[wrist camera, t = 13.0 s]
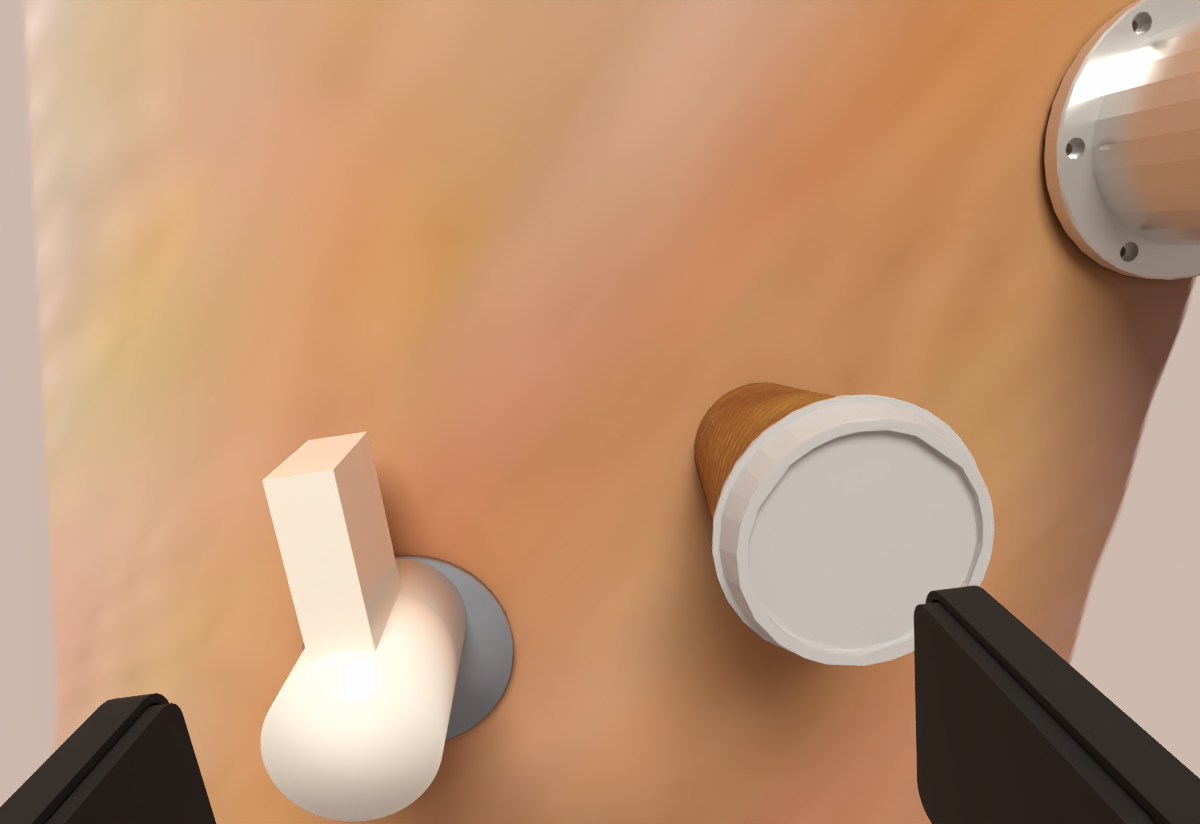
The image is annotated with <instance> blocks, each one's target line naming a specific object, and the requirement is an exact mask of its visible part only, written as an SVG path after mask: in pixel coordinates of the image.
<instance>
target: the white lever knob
mask: <svg viewBox="0 0 1200 824" xmlns="http://www.w3.org/2000/svg"><path fill="white" fill-rule="evenodd" d="M262 481H263V485H264V489H265V493H266V497H267V501H268V505H269V509H270V513H271V516H272V520H273V524H274V528H275V532H276V536H277V540H278V544H279V548H280V552H281V555H282V559H283V563H284V567H285V571H286V575H287V579H288V583H289V587H290V591H291V594H292V598H293V602H294V606H295V610H296V614H297V618H298V622H299V626H300V629H301V633H302V637H303V641H304V645H305V649H304V650H303V652H302V654H301V655H300V657H299V659H298V661H297V662H296V664H295V666H294V668H293V669H292V671H291V673H290V675H289V676H288V678H287V680H286V682H285V683H284V685H283V687H282V689H281V690H280V692H279V694H278V696H277V697H276V699H275V701H274V702H273V704H272V706H271V708H270V709H269V711H268V714H267V716H266V718H265V720H264V724H263V728H262V733H261V753H262V758H263V762H264V765H265V768H266V770H267V772H268V774H269V776H270V778H271V780H272V781H273V783H274V784H275V785H276V787H277V788H278V789H279V790H280V791H281V792H282V793H283V794H284V795H285V797H287V798H288V799H289V800H290V801H292V802H293V803H294V804H296V805H297V806H299V807H301V808H302V809H304V810H306V811H308V812H310V813H313V814H315V815H318V816H321V817H324V818H328V819H333V820H338V821H348V822H350V821H368V820H374V819H378V818H382V817H385V816H388V815H391V814H394V813H396V812H398V811H400V810H402V809H404V808H405V807H407V806H408V805H410V804H411V803H413V802H414V801H415V800H416V799H418V798H419V797H420V796H421V795H422V794H423V793H424V792H425V791H426V789H427V788H428V787H429V786H430V784H431V783H432V781H433V780H434V778H435V776H436V774H437V772H438V770H439V767H440V763H441V760H442V755H443V749H444V744H445V739H446V733H447V728H448V723H449V717H450V712H451V707H452V701H453V696H454V691H455V685H456V680H457V675H458V669H459V664H460V659H461V653H462V648H463V642H464V637H465V632H466V626H467V616H466V609H465V605H464V602H463V599H462V597H461V595H460V593H459V591H458V590H457V588H456V587H455V585H454V584H453V583H452V582H451V581H450V580H449V579H448V578H447V577H446V576H445V575H444V574H442V573H441V572H440V571H438V570H437V569H435V568H433V567H431V566H429V565H427V564H424V563H422V562H419V561H415V560H410V559H398V558H395V556H394V551H393V546H392V542H391V537H390V533H389V528H388V523H387V519H386V514H385V510H384V505H383V500H382V496H381V491H380V487H379V482H378V477H377V473H376V468H375V464H374V459H373V454H372V450H371V445H370V441H369V436H368V431H367V432H360V433H354V434H347V435H340V436H334V437H327V438H320V439H314V440H308V441H307V442H306V443H305V444H304V445H303V446H301V447H300V448H299V449H298V450H297V451H296V452H294V453H293V454H292V455H291V456H290V457H289V458H288V459H286V460H285V461H284V462H283V463H282V464H281V465H279V466H278V467H277V468H276V469H275V470H274V471H273V472H271V473H270V474H269V475H268V476H267V477H266V478H264V479H263V480H262Z"/></svg>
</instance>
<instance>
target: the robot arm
mask: <svg viewBox="0 0 1200 824" xmlns="http://www.w3.org/2000/svg"><path fill="white" fill-rule="evenodd" d="M1044 163H1045V173H1046V182H1047V188H1048V192H1049V195H1050V198H1051V202H1052V205H1053V208H1054V212H1055V213H1056V215H1057V217H1058V219H1059V221H1060V223H1061V224H1062V226H1063V228H1064V230H1065V232H1066V234H1067V235H1068V236H1069V237H1070V238H1071V239H1072V241H1073V242H1074V243H1075V244H1076V245H1077V246H1078V247H1079V249H1080V250H1081V251H1082V252H1083V253H1085V254H1086V255H1087V256H1089V257H1090V258H1092V259H1093V260H1094V261H1096V262H1097V263H1098V264H1100V265H1101V266H1104V267H1106V268H1108V269H1111V270H1113V271H1115V272H1118V273H1120V274H1123V275H1128V276H1134V277H1139V278H1144V279H1167V280H1172V279H1180V278H1188V277H1196V276H1199V275H1200V0H1138V1H1136V2H1134V3H1132V4H1130V5H1129V6H1127V7H1125V8H1123V9H1122V10H1121V11H1120V12H1118V13H1117V14H1116V15H1115V16H1113V17H1112V18H1111V19H1110V20H1109V21H1107V22H1106V23H1105V24H1104V25H1102V26H1101V27H1100V28H1099V29H1098V30H1097V32H1096V33H1095V34H1094V35H1093V36H1092V37H1091V38H1090V40H1089V41H1088V42H1087V43H1086V44H1085V45H1084V46H1083V48H1082V49H1081V50H1080V52H1079V53H1078V55H1077V56H1076V58H1075V60H1074V61H1073V63H1072V64H1071V66H1070V68H1069V69H1068V71H1067V72H1066V74H1065V76H1064V78H1063V80H1062V83H1061V85H1060V88H1059V90H1058V92H1057V95H1056V97H1055V99H1054V102H1053V105H1052V109H1051V113H1050V117H1049V122H1048V126H1047V130H1046V140H1045V154H1044ZM914 655H915V701H916V746H917V783H918V790H919V795H920V798H921V802H922V805H923V807H924V810H925V812H926V814H927V816H928V818H929V819H930V821H931V823H932V824H1200V779H1199V778H1198V777H1197V776H1196V775H1195V774H1194V773H1193V772H1191V771H1190V770H1189V769H1188V768H1187V767H1186V766H1185V765H1183V764H1182V763H1181V762H1180V761H1179V760H1178V759H1177V758H1175V757H1174V756H1173V755H1172V754H1171V753H1170V752H1168V751H1167V750H1166V749H1165V748H1164V747H1163V746H1162V745H1161V744H1159V743H1158V742H1157V741H1156V740H1155V739H1154V738H1153V737H1151V736H1150V735H1149V734H1148V733H1147V732H1146V731H1145V730H1143V729H1142V728H1141V727H1140V726H1139V725H1138V724H1137V723H1135V722H1134V721H1133V720H1132V719H1131V718H1130V717H1128V715H1126V714H1125V713H1124V712H1123V711H1122V710H1121V709H1120V708H1118V707H1117V706H1116V705H1115V704H1114V703H1113V702H1112V701H1110V700H1109V699H1108V698H1107V697H1106V696H1104V695H1103V694H1102V693H1101V692H1100V691H1099V690H1098V689H1097V688H1095V687H1094V686H1093V685H1092V684H1091V683H1090V682H1089V681H1087V680H1086V679H1085V678H1084V677H1083V676H1082V675H1081V674H1080V673H1078V672H1077V671H1076V670H1075V669H1074V668H1073V667H1072V666H1070V665H1069V664H1068V663H1067V662H1066V661H1065V660H1064V659H1062V658H1061V657H1060V656H1059V655H1058V654H1057V653H1056V652H1055V651H1053V650H1052V649H1051V648H1050V647H1049V646H1048V645H1047V644H1045V643H1044V642H1043V641H1042V640H1041V639H1040V638H1039V637H1037V636H1036V635H1035V634H1034V633H1033V632H1032V631H1031V630H1029V629H1028V628H1027V627H1026V626H1025V625H1024V624H1023V623H1021V622H1020V621H1019V620H1018V619H1017V618H1016V617H1015V616H1013V615H1012V614H1011V613H1010V612H1009V611H1008V610H1007V609H1005V608H1004V607H1003V606H1002V605H1001V604H1000V603H999V602H997V601H996V600H995V599H994V598H993V597H992V596H991V595H990V594H988V593H987V592H986V591H985V590H984V589H982V588H981V587H979V586H974V585H972V586H965V587H957V588H950V589H942V590H934V591H931V592H929V593H928V595H927V598H926V604H918V605H917V606H916V607H915V610H914ZM0 824H216V822H215V818H214V815H213V812H212V808H211V805H210V802H209V799H208V795H207V792H206V789H205V785H204V782H203V779H202V776H201V772H200V769H199V766H198V763H197V759H196V756H195V753H194V749H193V746H192V743H191V740H190V736H189V733H188V730H187V726H186V723H185V720H184V717H183V714H182V711H181V709H180V708H179V707H178V706H177V705H176V704H173V703H170V704H169V702H168V700H167V699H166V698H165V697H164V696H163V695H160V694H157V693H155V694H147V695H140V696H132V697H125V698H117V699H112V700H108V701H106V702H105V703H103V704H102V705H101V706H100V707H99V708H98V709H97V710H96V711H95V712H94V713H93V714H92V715H91V716H90V717H89V718H88V719H87V720H86V721H85V722H84V723H83V724H82V725H81V726H80V727H79V728H78V729H77V730H76V731H75V732H74V733H73V734H72V735H71V736H70V737H69V738H68V739H67V740H66V741H65V742H64V743H63V744H62V745H61V746H60V747H59V748H58V749H57V750H56V751H55V752H54V753H53V754H52V755H51V756H50V758H48V759H47V760H46V761H45V763H43V765H41V767H39V769H38V770H37V771H36V772H35V773H34V774H33V775H32V776H31V777H30V778H29V779H28V780H27V781H26V782H25V783H24V784H23V785H22V786H21V787H20V788H19V789H18V790H17V791H16V792H15V793H14V794H13V795H12V796H11V797H10V798H9V799H8V800H7V801H6V802H5V803H4V804H3V805H2V806H1V807H0Z"/></svg>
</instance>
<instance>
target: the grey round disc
mask: <svg viewBox="0 0 1200 824" xmlns="http://www.w3.org/2000/svg"><path fill="white" fill-rule="evenodd" d="M395 558H398V559H410V560H415V561H419V562H422V563H424V564H427V565H429V566H431V567H433V568H435V569H437V570H438V571H440V572H441V573H442V574H444V575H445V576H446V577H447V578H448V579H449V580H450V581H451V582H452V583H453V584H454V585H455V587H456V588H457V590H458V591H459V593H460V595H461V597H462V599H463V602H464V605H465V609H466V616H467V626H466V632H465V637H464V642H463V648H462V653H461V659H460V664H459V669H458V675H457V680H456V685H455V691H454V696H453V701H452V707H451V712H450V717H449V723H448V728H447V733H446V739H445V740H448V739H451V738H453V737H455V736H457V735H459V734H462V733H464V732H465V731H467V730H468V729H470V728H472V727H473V726H475V725H476V724H477V723H478V722H480V721H481V720H482V719H483V718H484V717H485V716H486V715H487V714H488V713H489V712H490V711H491V710H492V709H493V708H494V706H495V705H496V704H497V702H498V701H499V699H500V698H501V696H502V694H503V692H504V690H505V688H506V686H507V683H508V680H509V677H510V673H511V668H512V660H513V637H512V631H511V627H510V623H509V620H508V618H507V615H506V613H505V611H504V609H503V607H502V605H501V604H500V602H499V600H498V599H497V598H496V596H495V595H494V594H493V592H492V591H491V590H490V589H489V588H488V587H487V586H486V585H485V584H484V583H483V582H482V581H481V580H479V579H478V578H477V577H475V576H474V575H473V574H471V573H470V572H468V571H466V570H464V569H463V568H461V567H459V566H457V565H454V564H452V563H450V562H447V561H444V560H440V559H437V558H432V557H426V556H418V555H401V556H395ZM304 649H305V645H304V641H303V650H304Z"/></svg>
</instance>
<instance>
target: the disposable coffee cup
mask: <svg viewBox="0 0 1200 824" xmlns="http://www.w3.org/2000/svg"><path fill="white" fill-rule="evenodd" d="M695 461H696V465H697V469H698V472H699V475H700V479H701V482H702V486H703V490H704V493H705V497H706V500H707V504H708V507H709V511H710V515H711V518H712V522H713V533H712V553H713V559H714V565H715V570H716V574H717V577H718V580H719V582H720V585H721V588H722V590H723V592H724V594H725V597H726V599H727V601H728V602H729V604H730V605H731V606H732V607H733V609H734V610H735V611H736V613H737V614H738V615H739V617H740V618H741V619H742V621H743V622H744V623H745V624H746V625H747V626H749V627H750V628H751V629H752V630H753V631H755V632H756V633H757V634H758V635H759V636H761V637H762V638H763V639H764V640H766V641H768V642H770V643H772V644H774V645H776V646H779V647H781V648H783V649H785V650H787V651H789V652H792V653H796V654H798V655H799V656H801V657H803V658H806V659H809V660H813V661H816V662H819V663H823V664H827V665H841V666H867V665H872V664H876V663H881V662H885V661H890V660H893V659H896V658H898V657H901V656H903V655H906V654H908V653H910V652H913V651H914V610H915V607H916V606H917V605H918V604H926V598H927V595H928V593H929V592H931V591H934V590H942V589H950V588H957V587H965V586H972V585H974V586H980V584H981V582H982V581H983V579H984V576H985V573H986V570H987V567H988V564H989V561H990V558H991V554H992V546H993V537H994V529H995V528H994V518H993V507H992V503H991V499H990V495H989V491H988V489H987V487H986V485H985V483H984V481H983V479H982V477H981V474H980V472H979V470H978V468H977V465H976V463H975V460H974V458H973V456H972V455H971V453H970V452H969V450H968V449H967V447H966V446H965V444H964V443H963V442H962V440H961V439H960V437H959V436H958V435H957V434H956V433H955V432H954V431H953V430H952V429H951V428H950V427H949V426H948V425H947V424H946V423H944V422H943V421H942V420H940V419H939V418H937V417H936V416H934V415H933V414H932V413H930V412H929V411H927V410H925V409H923V408H920V407H918V406H916V405H914V404H911V403H909V402H905V401H902V400H899V399H895V398H891V397H885V396H877V395H842V396H838V397H835V396H830V395H827V394H821V393H817V392H811V391H808V390H801V389H797V388H793V387H787V386H783V385H779V384H774V383H766V382H765V383H754V384H748V385H745V386H742V387H738V388H736V389H734V390H732V391H730V392H728V393H727V394H725V395H724V396H723V397H721V398H720V399H718V400H717V401H716V402H715V403H714V404H713V406H712V407H711V408H710V409H709V410H708V411H707V413H706V415H705V416H704V418H703V419H702V421H701V423H700V426H699V429H698V431H697V434H696V440H695Z"/></svg>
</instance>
